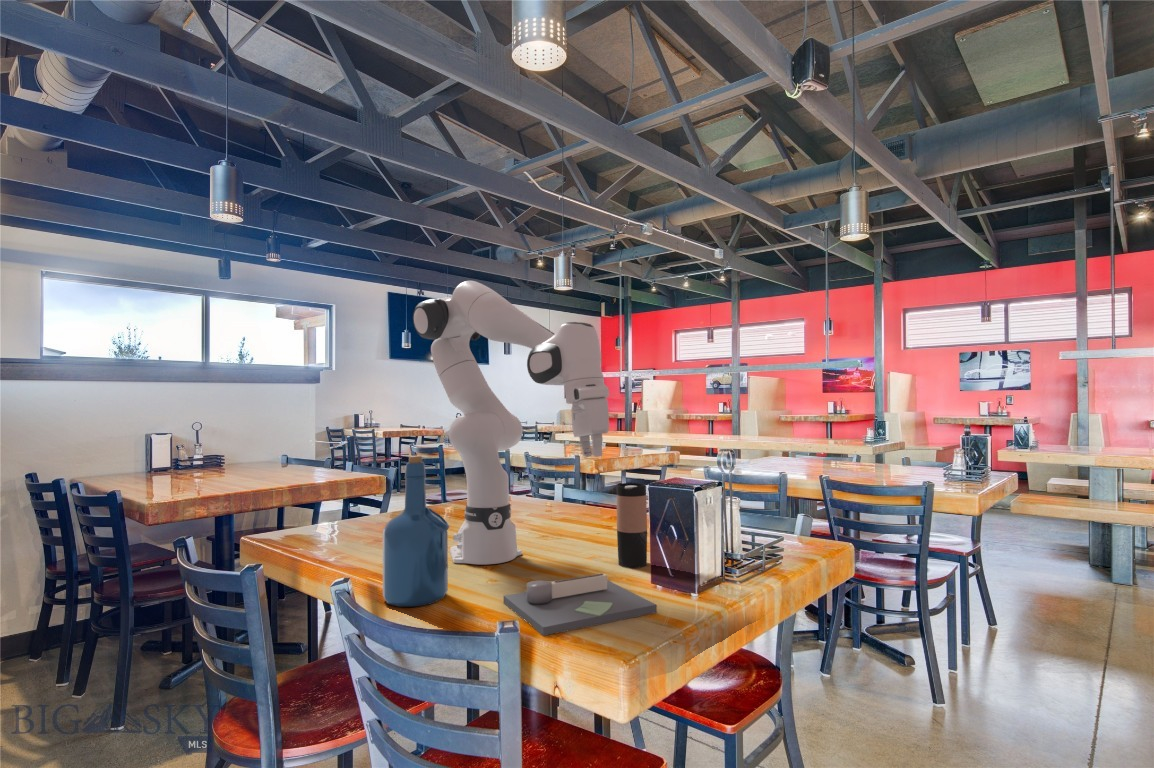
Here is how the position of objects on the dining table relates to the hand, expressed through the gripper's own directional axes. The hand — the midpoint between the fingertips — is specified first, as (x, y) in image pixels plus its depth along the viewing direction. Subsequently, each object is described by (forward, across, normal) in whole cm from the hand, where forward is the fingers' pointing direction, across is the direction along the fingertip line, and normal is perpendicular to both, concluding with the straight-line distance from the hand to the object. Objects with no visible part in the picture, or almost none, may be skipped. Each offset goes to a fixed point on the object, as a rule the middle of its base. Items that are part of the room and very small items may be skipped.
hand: (592, 456), depth 128 cm
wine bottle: (+26, -7, -40) cm, 48 cm away
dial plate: (+29, +6, -8) cm, 31 cm away
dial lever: (+27, +4, -9) cm, 29 cm away
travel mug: (+29, -22, +12) cm, 38 cm away
